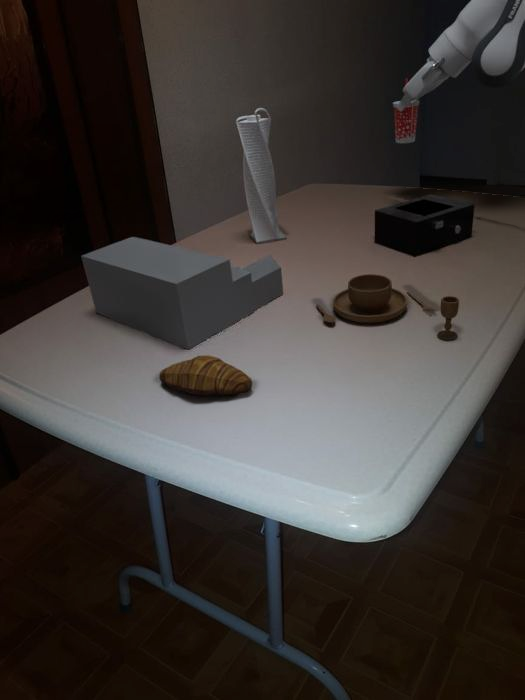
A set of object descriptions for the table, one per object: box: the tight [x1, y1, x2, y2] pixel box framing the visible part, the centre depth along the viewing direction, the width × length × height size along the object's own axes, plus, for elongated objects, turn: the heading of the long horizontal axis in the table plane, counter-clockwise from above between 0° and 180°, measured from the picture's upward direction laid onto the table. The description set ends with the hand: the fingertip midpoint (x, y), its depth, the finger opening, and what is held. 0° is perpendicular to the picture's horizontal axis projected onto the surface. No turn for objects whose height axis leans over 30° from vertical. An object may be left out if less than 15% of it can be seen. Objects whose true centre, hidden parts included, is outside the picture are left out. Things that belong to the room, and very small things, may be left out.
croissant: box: [159, 354, 253, 396], centre depth 74 cm, size 14×7×5 cm, turn 71°
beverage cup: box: [392, 77, 420, 144], centre depth 133 cm, size 6×6×14 cm
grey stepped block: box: [80, 236, 284, 350], centre depth 97 cm, size 25×23×11 cm
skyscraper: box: [235, 107, 287, 245], centre depth 121 cm, size 8×8×28 cm
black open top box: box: [374, 193, 476, 258], centre depth 115 cm, size 16×13×7 cm
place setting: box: [315, 273, 460, 342], centre depth 87 cm, size 18×20×6 cm
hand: (403, 106), depth 133 cm, fingers closed on beverage cup, 6 cm apart
